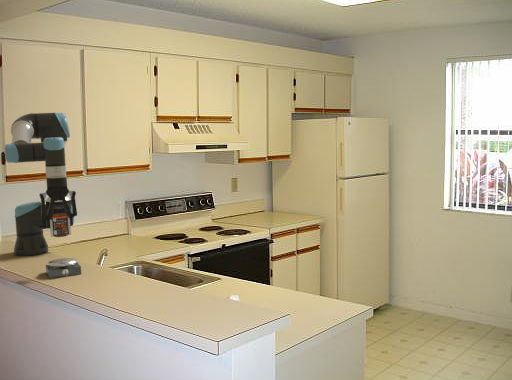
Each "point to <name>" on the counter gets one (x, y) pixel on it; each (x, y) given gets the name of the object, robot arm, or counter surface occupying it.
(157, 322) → the counter surface
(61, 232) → the supplement bottle
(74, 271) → the kitchen scale
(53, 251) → the counter surface
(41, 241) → the robot arm
